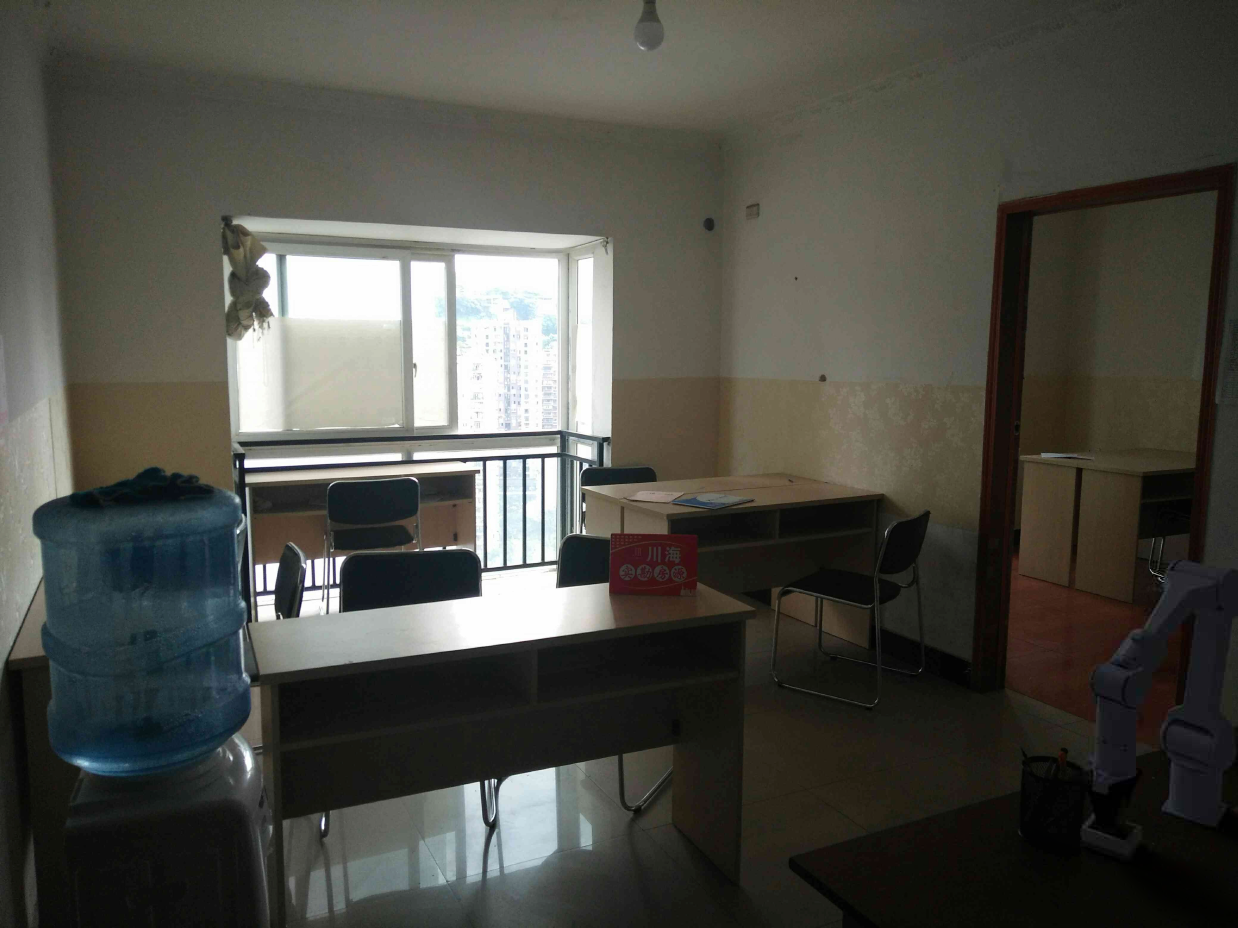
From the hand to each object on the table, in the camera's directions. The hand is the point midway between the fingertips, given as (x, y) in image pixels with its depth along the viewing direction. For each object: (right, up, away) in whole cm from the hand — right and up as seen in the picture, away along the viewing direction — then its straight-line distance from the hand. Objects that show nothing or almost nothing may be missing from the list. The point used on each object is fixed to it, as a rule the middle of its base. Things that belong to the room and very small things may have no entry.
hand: (1111, 818), depth 140 cm
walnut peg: (0, -3, 0) cm, 3 cm away
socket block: (0, -4, +1) cm, 4 cm away
